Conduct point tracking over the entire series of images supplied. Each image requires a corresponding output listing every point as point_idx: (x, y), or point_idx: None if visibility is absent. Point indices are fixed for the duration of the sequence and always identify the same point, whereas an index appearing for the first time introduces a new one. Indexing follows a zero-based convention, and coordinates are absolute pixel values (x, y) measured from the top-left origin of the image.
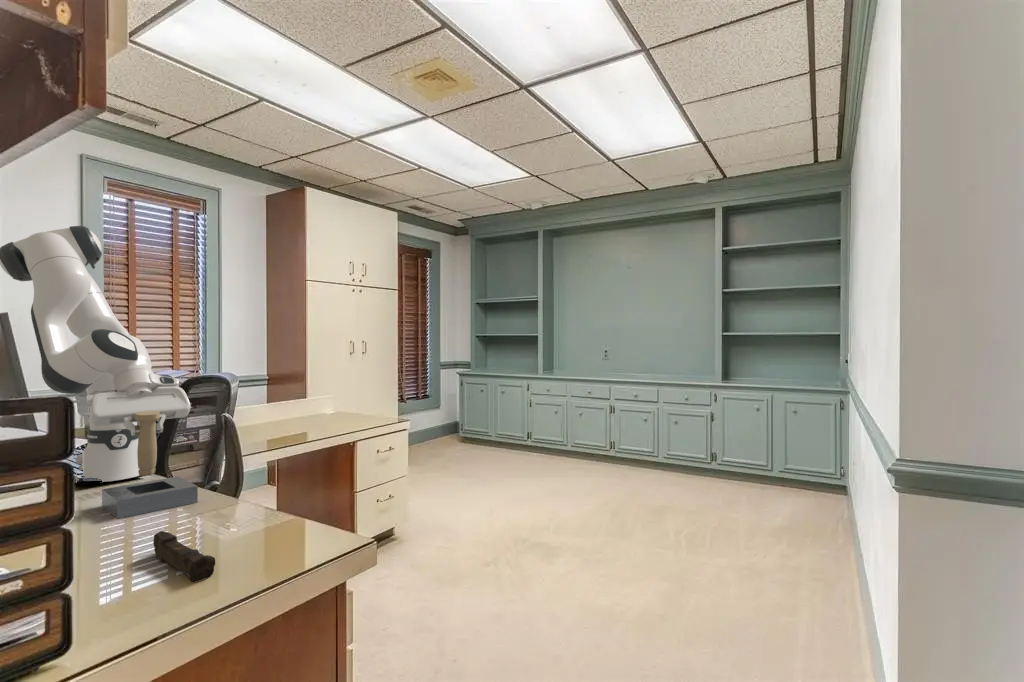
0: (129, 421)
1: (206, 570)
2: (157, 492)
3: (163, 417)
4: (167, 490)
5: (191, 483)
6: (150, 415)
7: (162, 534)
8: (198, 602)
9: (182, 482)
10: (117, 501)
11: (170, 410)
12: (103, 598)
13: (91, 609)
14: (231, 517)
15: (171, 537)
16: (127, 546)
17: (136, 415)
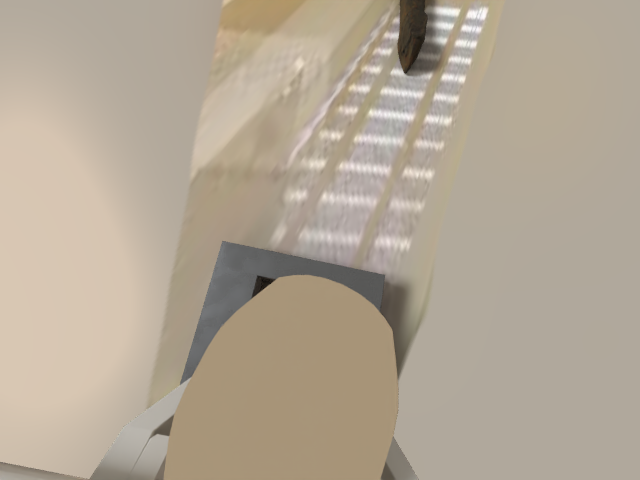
0: (391, 462)
1: None
2: (304, 267)
3: (149, 420)
4: (283, 263)
5: (214, 277)
6: (324, 279)
7: (420, 25)
8: None
9: (217, 310)
10: (384, 275)
11: (20, 471)
12: (482, 16)
13: (495, 6)
14: (264, 111)
15: (416, 10)
16: (416, 128)
17: (393, 383)
